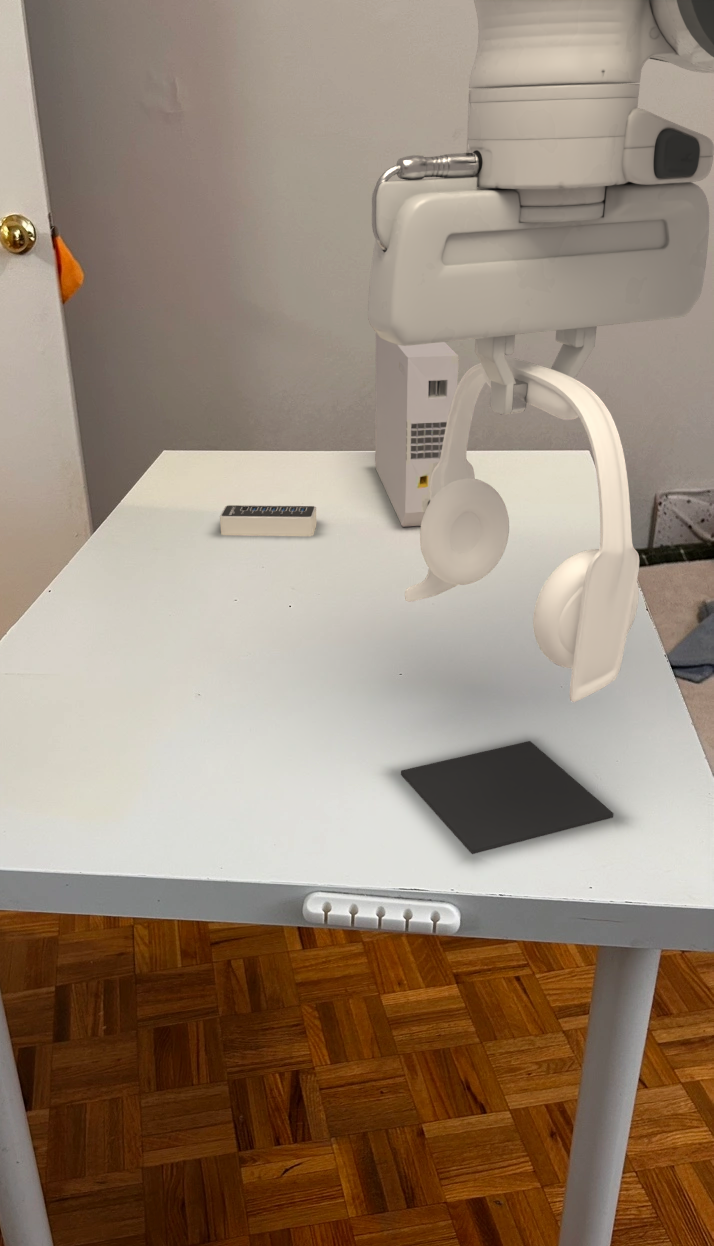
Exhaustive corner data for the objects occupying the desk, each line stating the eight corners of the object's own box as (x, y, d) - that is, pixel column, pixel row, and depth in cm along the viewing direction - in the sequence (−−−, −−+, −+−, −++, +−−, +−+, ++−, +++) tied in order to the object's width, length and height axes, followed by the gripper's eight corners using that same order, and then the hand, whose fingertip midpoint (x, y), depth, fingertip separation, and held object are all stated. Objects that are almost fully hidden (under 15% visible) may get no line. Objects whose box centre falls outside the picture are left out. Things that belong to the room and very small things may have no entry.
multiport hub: (313, 536, 129) (312, 517, 128) (220, 535, 130) (219, 516, 129) (316, 524, 133) (316, 505, 132) (226, 523, 134) (225, 504, 133)
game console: (416, 466, 153) (420, 315, 144) (454, 531, 129) (461, 355, 120) (375, 468, 153) (375, 317, 143) (404, 534, 129) (407, 357, 119)
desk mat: (529, 745, 85) (530, 740, 85) (613, 817, 76) (613, 813, 76) (400, 774, 82) (400, 770, 82) (472, 854, 73) (472, 849, 73)
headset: (650, 694, 66) (691, 390, 58) (548, 717, 64) (574, 405, 56) (485, 582, 83) (498, 333, 74) (399, 597, 81) (402, 343, 72)
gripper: (399, 158, 54) (396, 442, 60) (740, 142, 60) (704, 401, 67) (348, 155, 59) (350, 417, 66) (667, 141, 65) (640, 381, 72)
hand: (531, 409), depth 66 cm, fingers closed on headset
